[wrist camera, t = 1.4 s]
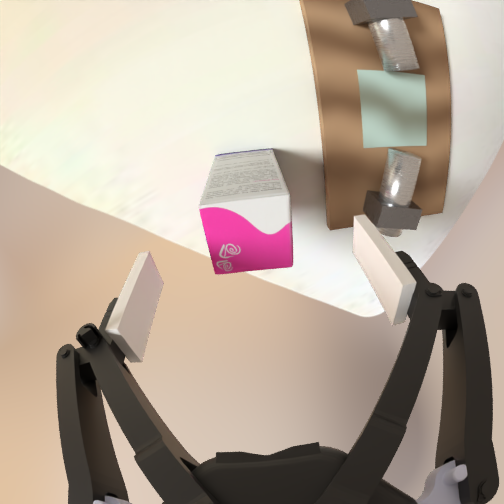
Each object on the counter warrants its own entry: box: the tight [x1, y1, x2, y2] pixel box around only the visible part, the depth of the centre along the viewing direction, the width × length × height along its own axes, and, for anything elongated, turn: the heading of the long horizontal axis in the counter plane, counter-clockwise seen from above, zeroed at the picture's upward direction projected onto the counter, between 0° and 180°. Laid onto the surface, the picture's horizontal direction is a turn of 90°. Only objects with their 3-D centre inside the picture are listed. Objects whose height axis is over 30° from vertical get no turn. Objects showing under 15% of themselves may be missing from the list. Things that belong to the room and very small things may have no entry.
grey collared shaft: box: [344, 0, 419, 71], centre depth 15 cm, size 9×5×4 cm, turn 22°
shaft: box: [363, 148, 422, 237], centre depth 25 cm, size 9×5×4 cm, turn 178°
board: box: [299, 0, 451, 230], centre depth 22 cm, size 26×16×1 cm, turn 10°
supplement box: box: [199, 149, 293, 274], centre depth 22 cm, size 6×6×12 cm
